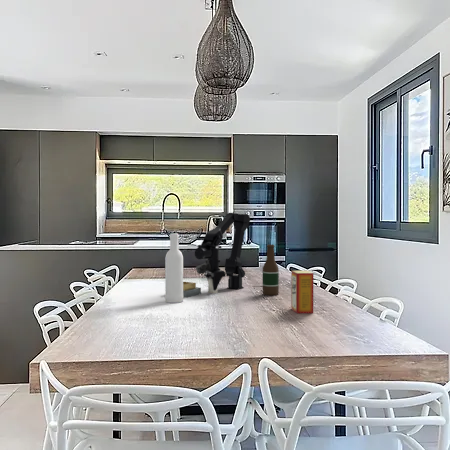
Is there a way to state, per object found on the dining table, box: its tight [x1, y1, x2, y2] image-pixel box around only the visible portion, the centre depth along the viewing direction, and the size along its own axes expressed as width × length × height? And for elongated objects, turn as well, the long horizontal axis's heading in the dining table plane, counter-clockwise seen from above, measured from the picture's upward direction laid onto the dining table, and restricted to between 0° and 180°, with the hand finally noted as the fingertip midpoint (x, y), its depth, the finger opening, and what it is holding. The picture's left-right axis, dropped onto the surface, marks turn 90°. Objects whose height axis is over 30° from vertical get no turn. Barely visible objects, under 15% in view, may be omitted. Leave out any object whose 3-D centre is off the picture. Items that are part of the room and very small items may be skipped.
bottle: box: [164, 232, 184, 304], centre depth 214 cm, size 8×8×30 cm
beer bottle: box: [262, 244, 280, 297], centre depth 233 cm, size 8×8×24 cm
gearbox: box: [183, 281, 202, 298], centre depth 233 cm, size 14×12×6 cm
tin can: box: [207, 277, 218, 295], centre depth 238 cm, size 5×5×7 cm
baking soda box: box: [290, 269, 314, 314], centre depth 193 cm, size 10×6×16 cm
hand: (212, 289), depth 238 cm, fingers closed on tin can, 4 cm apart
